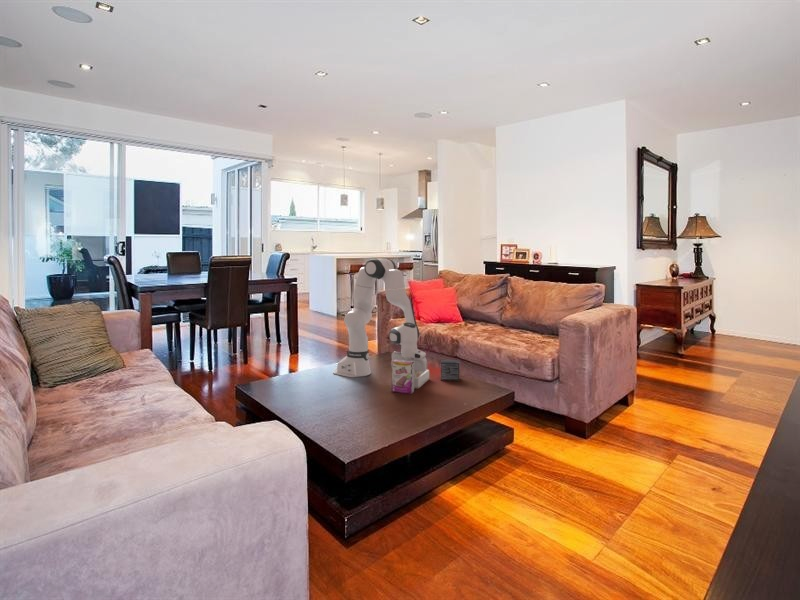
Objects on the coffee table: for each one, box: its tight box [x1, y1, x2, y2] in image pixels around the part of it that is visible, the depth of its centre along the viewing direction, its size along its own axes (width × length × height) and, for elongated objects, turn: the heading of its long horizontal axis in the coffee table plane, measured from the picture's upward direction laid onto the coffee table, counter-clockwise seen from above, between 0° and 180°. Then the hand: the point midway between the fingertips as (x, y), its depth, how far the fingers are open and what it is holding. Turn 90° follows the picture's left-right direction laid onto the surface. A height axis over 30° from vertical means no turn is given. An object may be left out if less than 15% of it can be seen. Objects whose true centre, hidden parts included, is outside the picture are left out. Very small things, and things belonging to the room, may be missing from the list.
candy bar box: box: [391, 359, 415, 395], centre depth 234 cm, size 11×5×16 cm, turn 71°
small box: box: [440, 359, 460, 382], centre depth 257 cm, size 11×6×10 cm, turn 84°
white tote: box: [414, 369, 430, 389], centre depth 251 cm, size 14×18×6 cm
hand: (409, 377), depth 247 cm, fingers closed on maple cube, 5 cm apart
